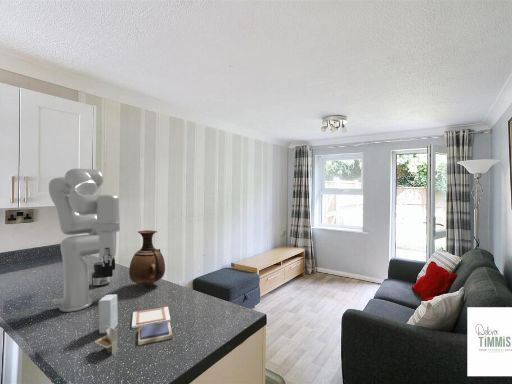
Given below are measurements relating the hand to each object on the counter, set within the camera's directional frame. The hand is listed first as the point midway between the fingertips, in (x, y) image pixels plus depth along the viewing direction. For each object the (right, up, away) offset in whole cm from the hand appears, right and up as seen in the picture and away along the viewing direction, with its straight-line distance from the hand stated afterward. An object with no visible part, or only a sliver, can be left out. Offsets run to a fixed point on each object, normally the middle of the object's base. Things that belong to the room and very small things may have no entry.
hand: (109, 273), depth 102 cm
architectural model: (+8, -22, -14) cm, 27 cm away
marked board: (+12, -21, +9) cm, 26 cm away
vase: (-4, -21, +46) cm, 50 cm away
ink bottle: (-31, -21, +49) cm, 61 cm away
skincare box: (0, -21, 0) cm, 21 cm away
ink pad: (+19, -21, -4) cm, 28 cm away
